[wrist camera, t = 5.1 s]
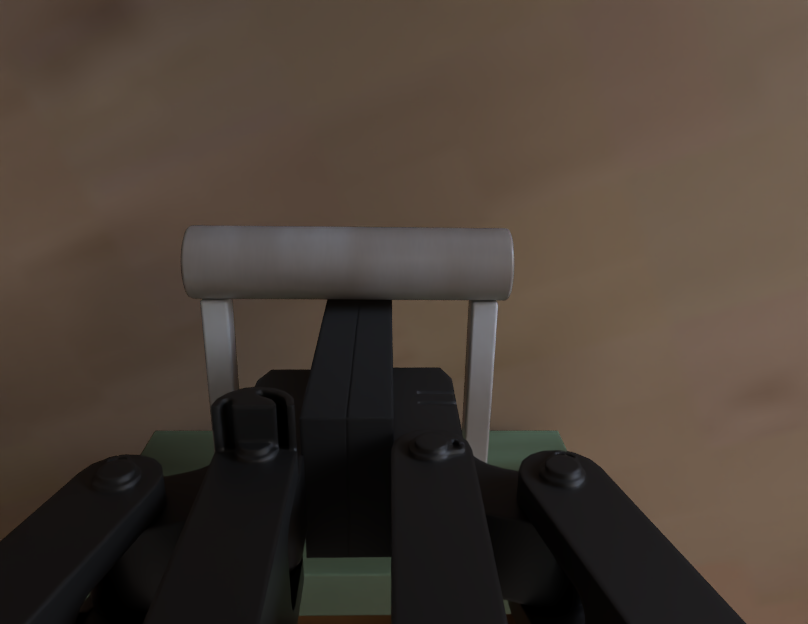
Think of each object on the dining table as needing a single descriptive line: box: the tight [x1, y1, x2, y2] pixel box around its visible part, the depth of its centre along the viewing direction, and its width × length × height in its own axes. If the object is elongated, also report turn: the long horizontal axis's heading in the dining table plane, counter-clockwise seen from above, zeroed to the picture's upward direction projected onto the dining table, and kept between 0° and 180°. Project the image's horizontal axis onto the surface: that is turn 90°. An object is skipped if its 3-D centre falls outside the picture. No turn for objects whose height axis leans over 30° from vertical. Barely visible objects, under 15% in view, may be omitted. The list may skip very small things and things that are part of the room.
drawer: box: [85, 225, 567, 624], centre depth 19 cm, size 21×12×6 cm, turn 179°
